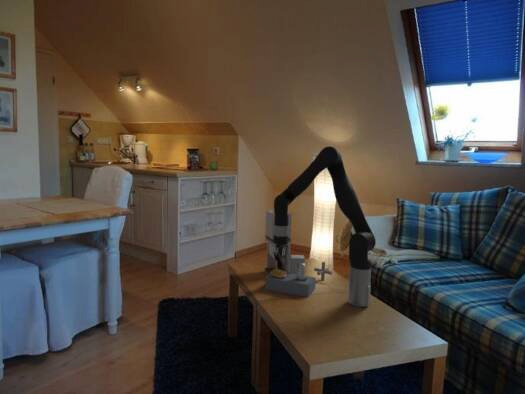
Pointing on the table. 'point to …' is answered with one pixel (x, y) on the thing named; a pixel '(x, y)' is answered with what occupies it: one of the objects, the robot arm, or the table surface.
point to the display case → (272, 247)
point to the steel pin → (301, 271)
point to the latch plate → (279, 273)
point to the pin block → (291, 285)
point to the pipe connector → (323, 271)
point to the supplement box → (295, 262)
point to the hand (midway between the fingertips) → (279, 267)
